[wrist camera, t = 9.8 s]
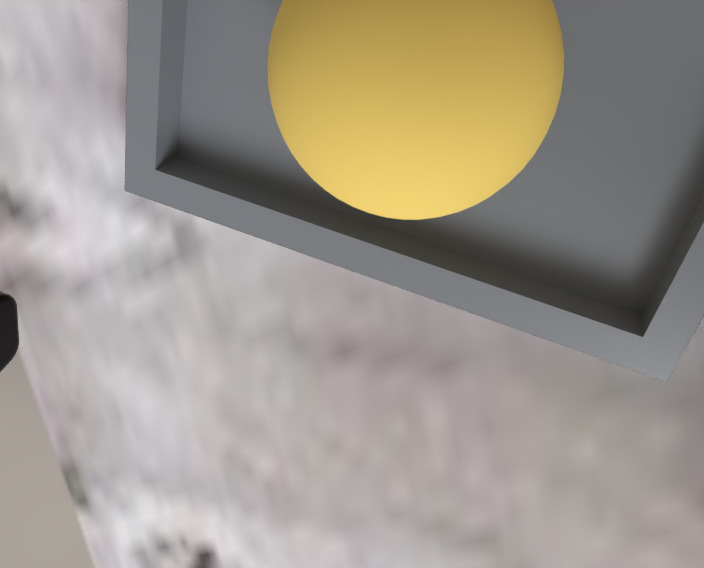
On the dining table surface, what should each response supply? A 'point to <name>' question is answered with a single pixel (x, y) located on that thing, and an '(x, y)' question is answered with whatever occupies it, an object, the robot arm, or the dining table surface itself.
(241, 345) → the dining table surface
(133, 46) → the tray
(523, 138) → the ball
